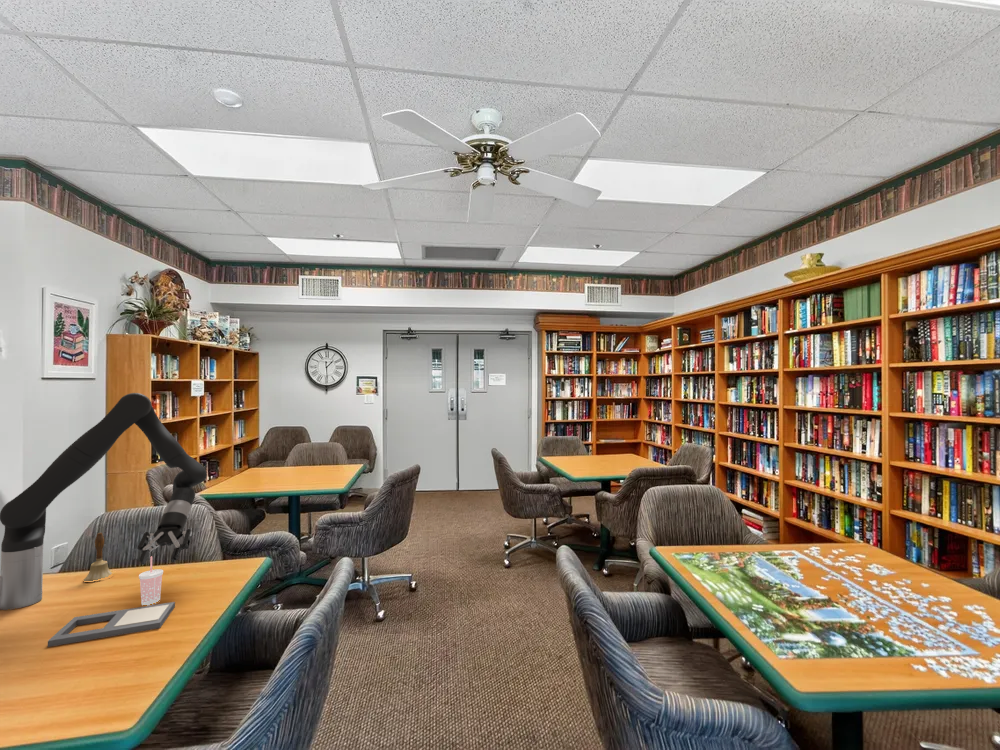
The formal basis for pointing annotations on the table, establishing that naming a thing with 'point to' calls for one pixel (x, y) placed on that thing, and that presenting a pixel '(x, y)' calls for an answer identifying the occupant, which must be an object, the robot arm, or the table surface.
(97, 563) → the hand bell
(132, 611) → the hole board
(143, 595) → the beverage cup
